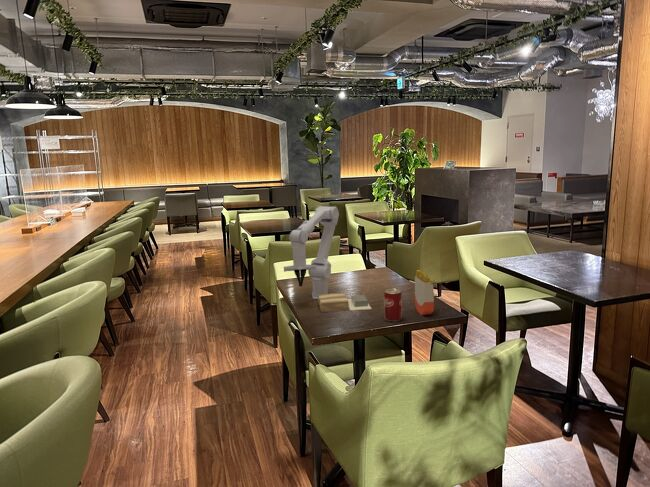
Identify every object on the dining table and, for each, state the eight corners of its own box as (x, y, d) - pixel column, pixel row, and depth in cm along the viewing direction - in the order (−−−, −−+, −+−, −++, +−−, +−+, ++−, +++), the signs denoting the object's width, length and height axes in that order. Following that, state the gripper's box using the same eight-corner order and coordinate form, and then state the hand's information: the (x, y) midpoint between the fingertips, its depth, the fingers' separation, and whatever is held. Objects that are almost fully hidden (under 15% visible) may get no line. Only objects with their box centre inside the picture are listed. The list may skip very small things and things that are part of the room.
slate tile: (363, 294, 226) (364, 300, 226) (351, 295, 225) (351, 300, 226) (367, 300, 217) (368, 306, 218) (354, 301, 217) (354, 307, 217)
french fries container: (424, 308, 213) (424, 268, 210) (434, 316, 203) (434, 274, 200) (414, 309, 213) (414, 269, 209) (424, 317, 202) (424, 275, 199)
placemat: (344, 300, 229) (344, 299, 229) (364, 298, 230) (364, 297, 230) (350, 310, 213) (350, 310, 213) (371, 309, 214) (371, 308, 214)
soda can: (388, 323, 197) (388, 294, 195) (381, 317, 204) (381, 289, 201) (404, 320, 199) (404, 292, 197) (397, 315, 206) (397, 287, 203)
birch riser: (318, 302, 227) (318, 294, 226) (343, 300, 228) (343, 292, 227) (321, 312, 213) (321, 303, 212) (348, 310, 214) (348, 301, 213)
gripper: (283, 259, 214) (285, 289, 216) (316, 257, 215) (317, 287, 218) (283, 256, 221) (284, 285, 223) (314, 254, 222) (315, 283, 225)
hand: (300, 285), depth 221 cm, fingers closed
